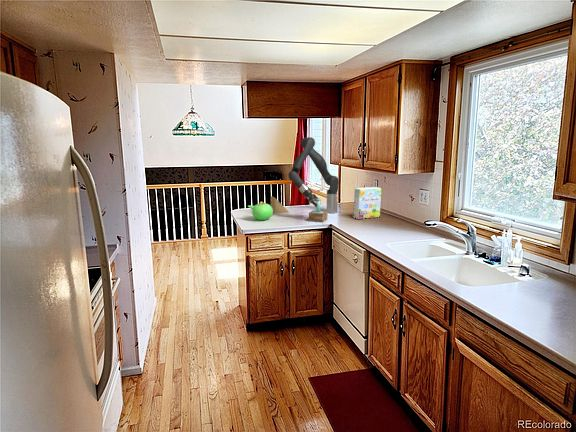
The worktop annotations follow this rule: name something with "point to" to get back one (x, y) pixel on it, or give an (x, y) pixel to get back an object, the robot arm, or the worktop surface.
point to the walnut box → (318, 216)
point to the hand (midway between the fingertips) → (318, 205)
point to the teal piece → (318, 206)
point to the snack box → (367, 202)
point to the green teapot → (261, 211)
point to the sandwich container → (277, 206)
